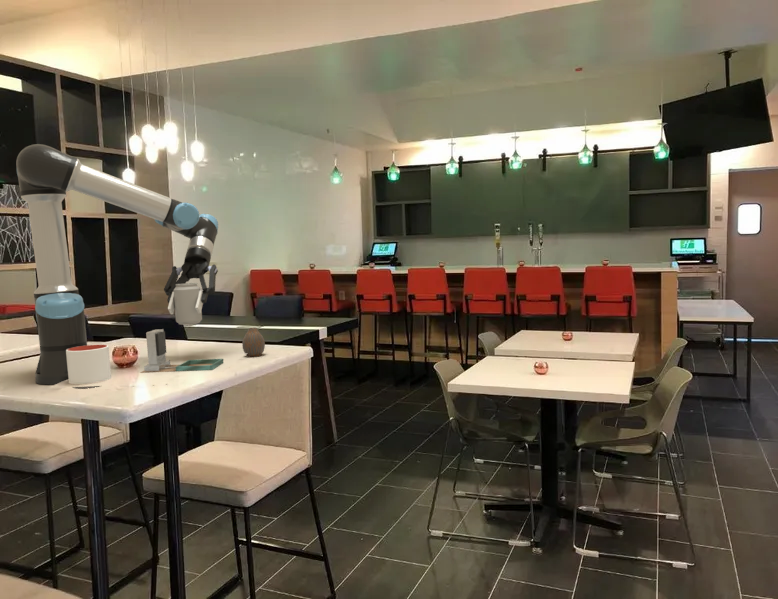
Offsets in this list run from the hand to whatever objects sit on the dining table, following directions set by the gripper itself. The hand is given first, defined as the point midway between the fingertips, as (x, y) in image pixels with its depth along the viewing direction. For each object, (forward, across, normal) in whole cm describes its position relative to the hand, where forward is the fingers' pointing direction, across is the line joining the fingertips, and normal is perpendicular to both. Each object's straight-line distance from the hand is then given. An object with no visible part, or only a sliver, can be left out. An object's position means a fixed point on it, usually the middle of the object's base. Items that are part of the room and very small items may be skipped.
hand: (184, 310), depth 183 cm
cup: (+27, +18, +3) cm, 33 cm away
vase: (+2, -16, -22) cm, 27 cm away
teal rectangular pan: (+18, -2, -5) cm, 19 cm away
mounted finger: (+17, +5, -4) cm, 18 cm away
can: (+1, 0, -6) cm, 6 cm away
